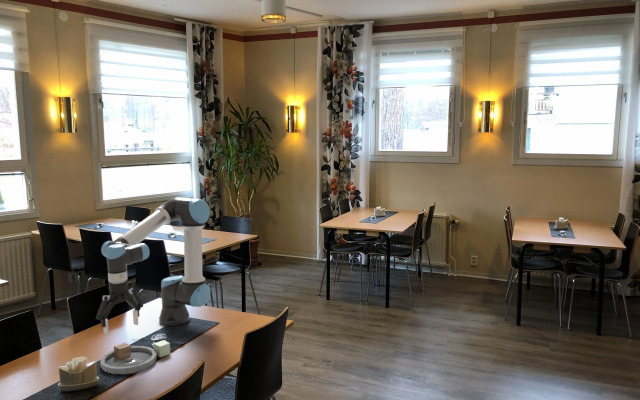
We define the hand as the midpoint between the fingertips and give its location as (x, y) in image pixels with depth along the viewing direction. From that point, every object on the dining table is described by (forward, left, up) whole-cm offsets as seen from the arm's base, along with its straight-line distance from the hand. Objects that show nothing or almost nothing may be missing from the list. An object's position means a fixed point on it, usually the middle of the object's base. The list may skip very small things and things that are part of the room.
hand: (121, 329), depth 224 cm
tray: (+6, 0, -13) cm, 14 cm away
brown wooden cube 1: (0, 0, -12) cm, 12 cm away
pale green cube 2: (+9, +14, -14) cm, 21 cm away
